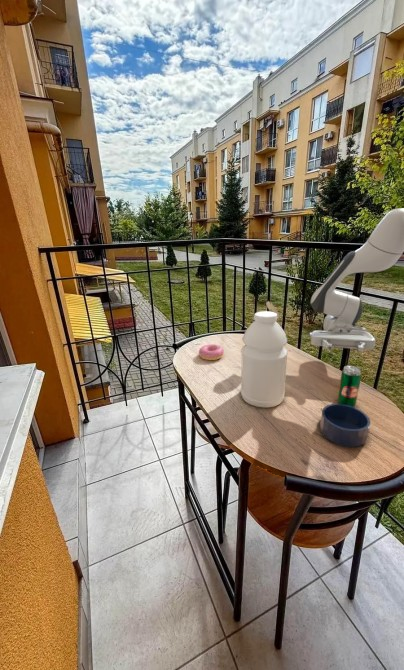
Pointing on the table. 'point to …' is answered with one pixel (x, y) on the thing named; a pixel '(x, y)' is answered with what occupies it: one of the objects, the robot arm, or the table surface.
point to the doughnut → (211, 352)
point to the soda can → (349, 385)
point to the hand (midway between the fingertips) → (344, 348)
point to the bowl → (344, 425)
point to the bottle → (263, 361)
